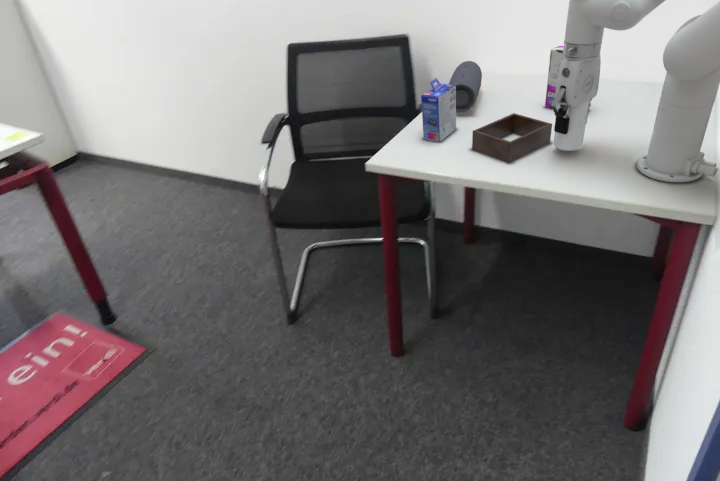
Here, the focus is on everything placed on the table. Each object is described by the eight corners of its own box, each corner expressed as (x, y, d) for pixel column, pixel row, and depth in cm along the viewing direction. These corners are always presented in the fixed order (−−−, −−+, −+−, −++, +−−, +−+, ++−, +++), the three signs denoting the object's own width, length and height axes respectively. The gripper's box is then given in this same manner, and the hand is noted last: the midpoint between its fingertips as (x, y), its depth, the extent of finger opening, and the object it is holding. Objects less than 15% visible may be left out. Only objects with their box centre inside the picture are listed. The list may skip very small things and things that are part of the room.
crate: (550, 142, 133) (552, 123, 131) (509, 163, 126) (510, 143, 123) (512, 131, 141) (513, 113, 139) (471, 149, 134) (472, 130, 131)
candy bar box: (589, 110, 149) (599, 49, 140) (580, 115, 146) (589, 54, 137) (553, 102, 156) (560, 44, 147) (543, 107, 154) (550, 48, 145)
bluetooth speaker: (477, 117, 152) (478, 82, 146) (444, 116, 154) (444, 82, 149) (482, 90, 170) (484, 58, 165) (453, 90, 172) (453, 59, 167)
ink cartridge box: (438, 126, 149) (438, 73, 141) (456, 129, 146) (457, 75, 138) (421, 139, 142) (420, 85, 134) (440, 142, 139) (439, 87, 131)
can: (583, 151, 124) (592, 101, 118) (554, 151, 126) (561, 101, 119) (580, 140, 130) (587, 91, 123) (551, 140, 131) (558, 92, 124)
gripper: (573, 61, 109) (561, 143, 118) (620, 43, 117) (606, 121, 127) (541, 55, 114) (533, 135, 124) (589, 38, 122) (577, 114, 132)
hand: (570, 127), depth 125 cm, fingers closed on can, 6 cm apart
